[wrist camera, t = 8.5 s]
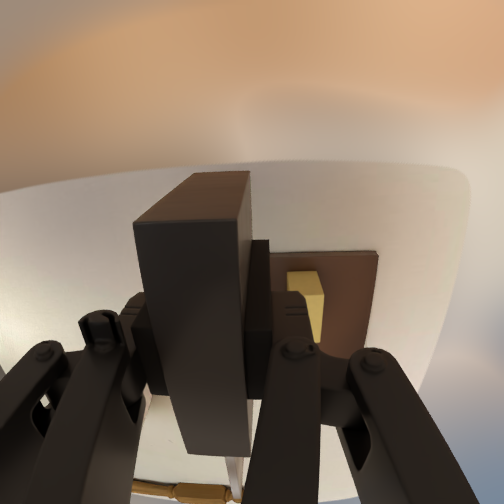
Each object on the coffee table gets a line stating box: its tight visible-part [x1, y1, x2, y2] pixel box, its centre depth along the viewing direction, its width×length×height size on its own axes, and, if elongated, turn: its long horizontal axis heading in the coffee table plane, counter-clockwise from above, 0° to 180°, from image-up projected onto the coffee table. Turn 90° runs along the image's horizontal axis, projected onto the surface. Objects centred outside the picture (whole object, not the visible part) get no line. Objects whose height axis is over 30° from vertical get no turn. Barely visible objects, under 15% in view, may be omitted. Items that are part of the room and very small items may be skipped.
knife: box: [133, 171, 253, 499], centre depth 14 cm, size 18×2×7 cm, turn 2°
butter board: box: [270, 251, 379, 359], centre depth 29 cm, size 18×12×1 cm, turn 92°
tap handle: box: [131, 480, 244, 504], centre depth 44 cm, size 3×3×30 cm
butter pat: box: [287, 271, 324, 343], centre depth 26 cm, size 2×4×4 cm, turn 2°
